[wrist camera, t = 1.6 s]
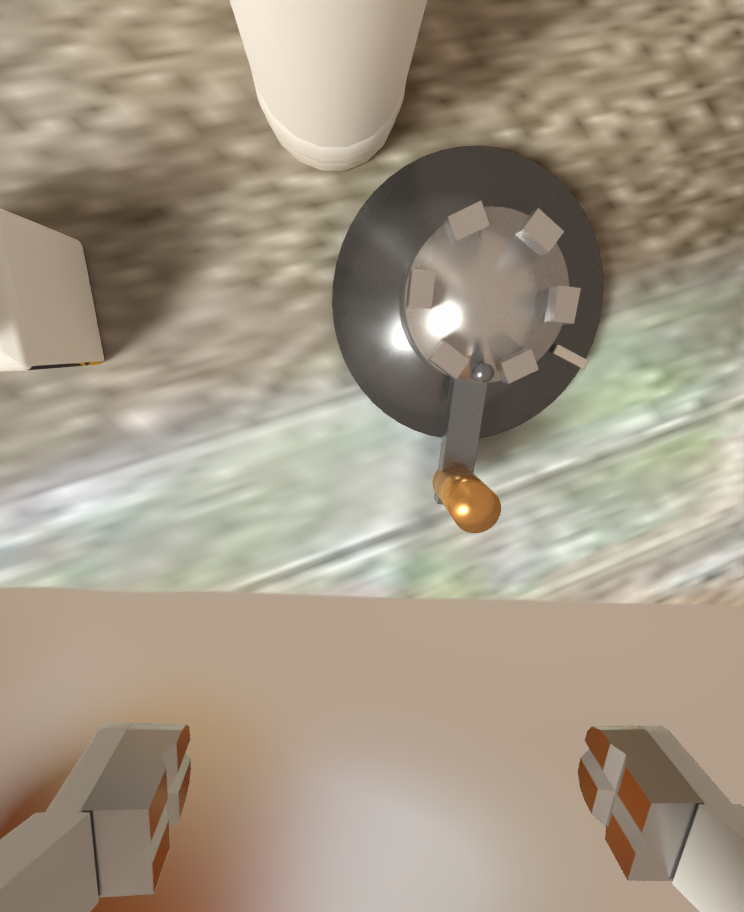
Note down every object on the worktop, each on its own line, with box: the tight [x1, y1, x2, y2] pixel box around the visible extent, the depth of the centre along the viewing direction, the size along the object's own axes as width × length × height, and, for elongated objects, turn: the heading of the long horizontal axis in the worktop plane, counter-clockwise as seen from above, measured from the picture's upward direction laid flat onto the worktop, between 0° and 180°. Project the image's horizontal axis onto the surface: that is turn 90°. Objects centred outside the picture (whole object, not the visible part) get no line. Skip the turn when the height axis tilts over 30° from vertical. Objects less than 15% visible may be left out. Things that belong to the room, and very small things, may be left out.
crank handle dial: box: [399, 201, 581, 533], centre depth 24 cm, size 17×9×6 cm, turn 175°
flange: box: [332, 146, 603, 438], centre depth 27 cm, size 17×17×2 cm
